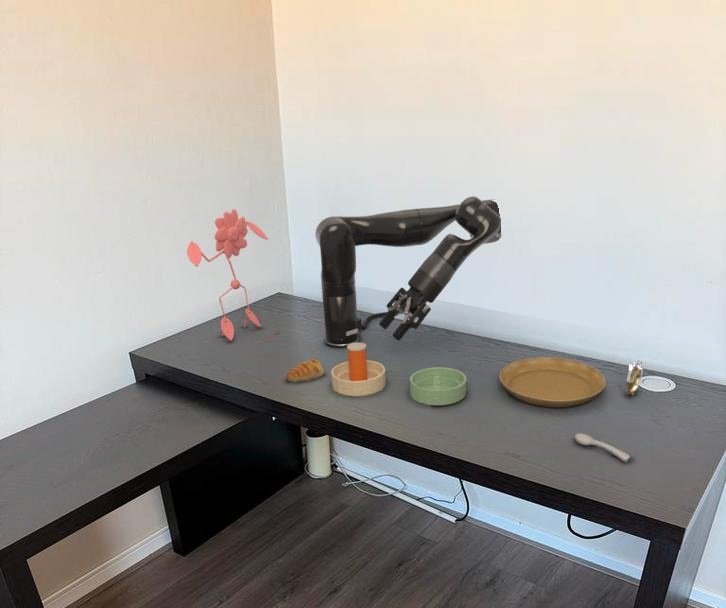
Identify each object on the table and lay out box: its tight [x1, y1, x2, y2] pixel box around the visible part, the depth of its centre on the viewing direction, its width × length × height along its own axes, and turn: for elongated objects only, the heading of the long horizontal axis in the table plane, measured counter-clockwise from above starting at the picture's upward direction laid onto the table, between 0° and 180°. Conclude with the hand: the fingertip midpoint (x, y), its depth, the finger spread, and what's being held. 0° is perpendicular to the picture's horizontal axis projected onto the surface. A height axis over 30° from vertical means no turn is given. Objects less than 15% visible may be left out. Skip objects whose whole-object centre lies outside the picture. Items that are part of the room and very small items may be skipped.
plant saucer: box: [498, 356, 607, 409], centre depth 160 cm, size 24×24×3 cm
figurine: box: [186, 208, 280, 345], centre depth 192 cm, size 15×26×35 cm, turn 141°
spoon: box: [574, 433, 631, 463], centre depth 137 cm, size 3×12×2 cm, turn 42°
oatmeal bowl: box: [330, 359, 387, 397], centre depth 167 cm, size 13×13×4 cm
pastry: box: [286, 358, 325, 383], centre depth 173 cm, size 9×7×4 cm
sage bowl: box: [409, 366, 468, 406], centre depth 161 cm, size 13×13×4 cm
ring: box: [625, 360, 645, 396], centre depth 155 cm, size 7×3×8 cm, turn 137°
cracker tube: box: [346, 342, 368, 381], centre depth 165 cm, size 5×5×10 cm
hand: (388, 332), depth 164 cm, fingers open, 8 cm apart
